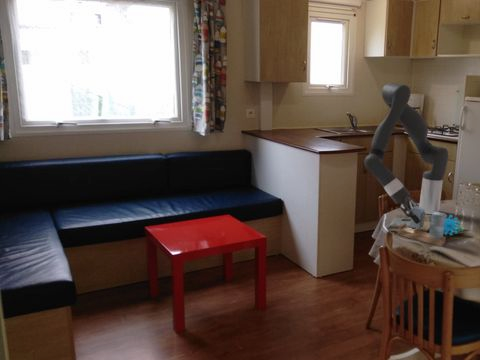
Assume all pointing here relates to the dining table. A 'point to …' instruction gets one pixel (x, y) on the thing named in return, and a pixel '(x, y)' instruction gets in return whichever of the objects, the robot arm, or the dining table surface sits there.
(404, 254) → the dining table surface
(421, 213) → the light grey block
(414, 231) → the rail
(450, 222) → the gear
